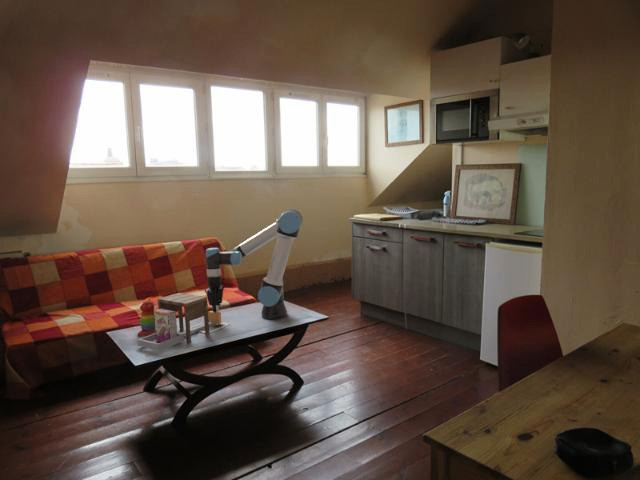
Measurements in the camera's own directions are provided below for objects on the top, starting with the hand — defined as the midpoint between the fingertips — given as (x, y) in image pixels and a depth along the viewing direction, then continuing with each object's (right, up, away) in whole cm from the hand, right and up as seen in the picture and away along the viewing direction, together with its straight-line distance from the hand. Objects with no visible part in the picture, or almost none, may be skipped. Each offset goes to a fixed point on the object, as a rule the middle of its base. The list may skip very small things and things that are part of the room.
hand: (216, 316), depth 254 cm
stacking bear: (-33, -7, -12) cm, 36 cm away
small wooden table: (-12, -7, -19) cm, 24 cm away
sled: (-12, -6, -19) cm, 23 cm away
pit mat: (-3, -5, -5) cm, 8 cm away
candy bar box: (-18, -8, -28) cm, 34 cm away
